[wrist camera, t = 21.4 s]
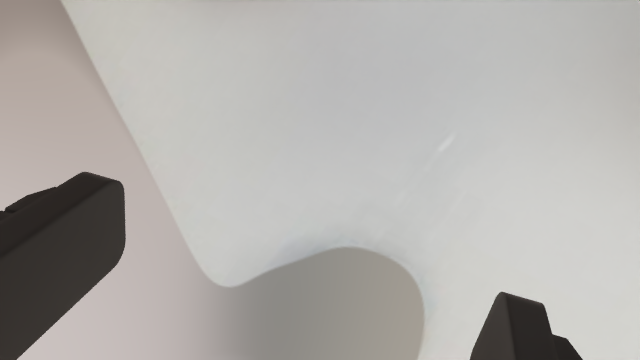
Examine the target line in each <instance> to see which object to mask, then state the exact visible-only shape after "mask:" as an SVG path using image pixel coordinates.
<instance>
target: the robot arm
mask: <svg viewBox="0 0 640 360" xmlns="http://www.w3.org/2000/svg"><path fill="white" fill-rule="evenodd" d="M125 239H126V238H125V201H124V188H123V185H122V184H121V182H119V181H117V180H114V179H110V178H106V177H103V176H100V175H96V174H92V173H89V172H82V173H80V174H78V175H76V176H74V177H73V178H71V179H69V180H68V181H66V182H64V183H63V184H61V185H59V186H58V187H53V188H50V189H47V190H43V191H40V192H37V193H33V194H30V195H27V196H25V197H24V198H22V199H20V200H18V201H17V202H15V203H13V204H12V205H10V206H8V207H6V208H5V211H0V360H17V358H18V357H20V356H21V355H22V354H23V353H24V352H25V351H26V350H27V349H28V348H29V347H30V346H31V345H32V344H34V343H35V341H37V340H38V339H39V338H40V337H41V336H42V335H43V334H44V333H45V332H46V331H47V330H48V329H49V328H50V327H52V326H53V325H54V324H55V323H56V322H57V321H58V320H59V319H60V318H61V317H62V316H63V315H64V314H65V313H66V312H67V311H68V310H70V309H71V308H72V307H73V306H74V305H75V304H76V303H77V302H78V301H79V300H80V299H81V298H82V297H83V296H84V295H85V294H86V293H88V292H89V291H90V290H91V289H92V288H93V287H94V286H95V285H96V284H97V283H98V282H99V281H100V280H101V279H102V278H103V277H105V276H106V275H107V274H108V273H109V272H110V271H111V270H112V269H113V268H114V267H115V266H116V265H117V263H118V262H119V260H120V258H121V256H122V254H123V251H124V247H125ZM470 360H583V359H582V358H581V357H580V355H579V354H578V353H577V351H576V350H575V349H574V347H573V346H572V345H571V344H570V342H569V341H568V340H567V339H566V338H563V337H560V336H556V335H553V334H552V332H551V328H550V325H549V321H548V317H547V313H546V310H545V307H544V305H543V304H542V303H539V302H536V301H532V300H529V299H525V298H522V297H519V296H515V295H512V294H508V293H505V292H500V293H499V294H498V295H497V297H496V299H495V301H494V303H493V305H492V307H491V310H490V312H489V314H488V316H487V319H486V321H485V323H484V325H483V328H482V330H481V332H480V334H479V337H478V339H477V341H476V343H475V346H474V348H473V351H472V354H471V357H470Z"/></svg>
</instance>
